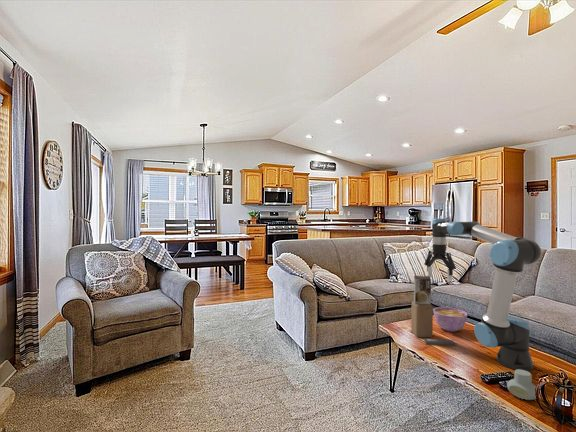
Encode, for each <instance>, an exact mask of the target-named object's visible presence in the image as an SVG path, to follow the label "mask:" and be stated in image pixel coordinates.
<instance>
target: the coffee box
mask: <svg viewBox="0 0 576 432" xmlns="http://www.w3.org/2000/svg"><path fill="white" fill-rule="evenodd" d="M413 278H414V281H413V282H414V283H413V286H414V287H413V301H414V302H415V304H431V305H432V303H431V299H432V297H431V295H432V294H431V293H432V292H431V290H432V289H431V287H432V279H431V277H429V276H428V275H414V276H413Z"/></svg>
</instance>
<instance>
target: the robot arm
mask: <svg viewBox="0 0 576 432" xmlns="http://www.w3.org/2000/svg"><path fill="white" fill-rule="evenodd" d="M431 226H432V227H431V228H432V229H431V230H432V239H431V240H432V241H431V242H432V250H428V254H427V257H426V259H425V262H424V266H426V268H427V269H426V272H427V276H429V277H430V278H433V264H434V262H435V261H436V260H441V261H442V262H443V263H444V265H445V266H446V267H447V273H446V274H447V277H446V278H447V280H446V281H447V282H451V281H452V280H453V279H452V278H453V272H454V271H453V270H456V269H457V267H456V264H455V263H454V260H453V257H452V253H451V252H446V251H447V235H448V236H460V235H462V236H463V235H466V236H467V235H468V236H470V237H473V238H476V239H479V240H481V241H483V242H486V243H489V244H491V245H492V246H491V247H490V250H489V257H490V259H491V262H492V263H493V264H492V266H493V267H494V268H495V273H494V277H493V282H492V287H491V292H490V296H489V299H488V300H489V302H488V306H487V311H486V313H484V314H482V317H481V321H480V322H477V323H475V325H474V328H473V331H474V332H473V333H474V335H475V337H476V339H477V341H478V342H479V343H480V344H481V345H482V346H483V347H485V348H498V347H500V348H499V350H498V352H497V354H496V361H497V363H498V364H500V365H501V366H503V367H506V368H508V369H511V370H514V371H515V370H517V369H520V370H525V371H528V372H530V371H533V370H534V362H533V358H532V356H531V354H530V353H531V352H530V331H531V329H530V324H529V322H528V321H527V320H524V319H522V318H520V317H515V316H510V315H509V313H510V310H511V309H510V308H511V304H512V299H513V296H514V292H515V287H516V282H517V279H518V275H519V274H520V273H523V270H524V267H525V266H526V265H531V264H534V263H536V262H537V261H539V260H540V258H541V256H542V249H541V246H540V244H538V243H537V242H536V241H534V240H532V239H529V238H526V237H523V236H518V237H516V236H513V235H510V234H508V233H505V232H502V231H498V230H496V229H494V228H490V227H487V226H484V225H482V224H481V223H479V222H478V221H472V220H471V221H447V220H446V218H433V219H432V225H431Z"/></svg>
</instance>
